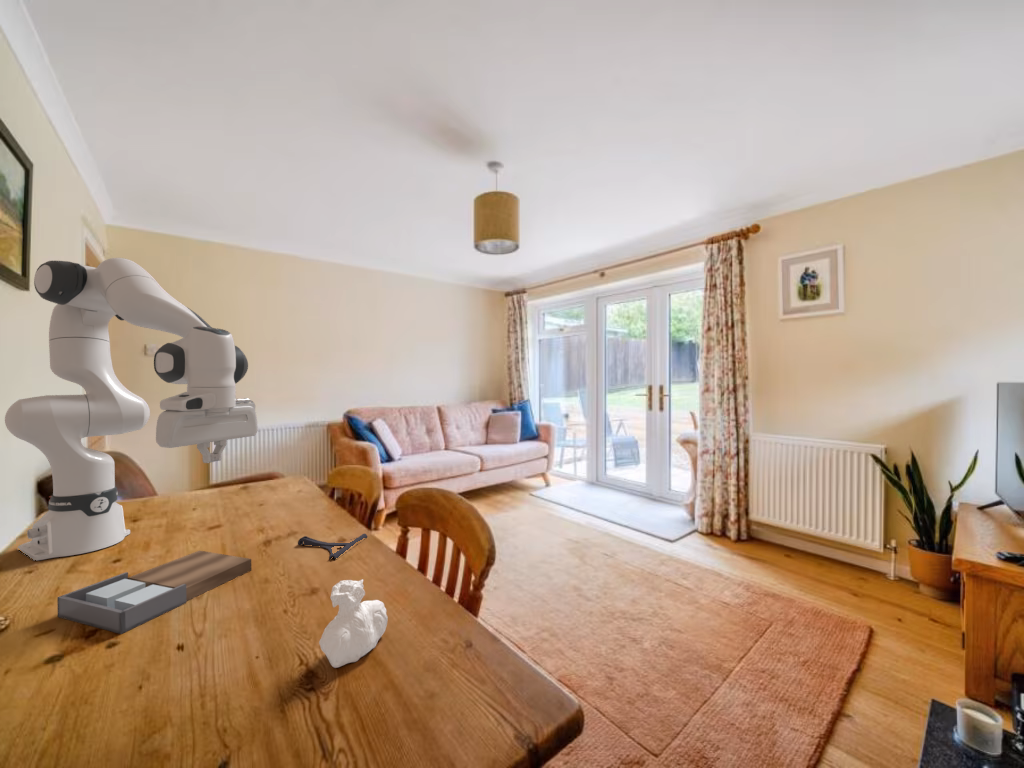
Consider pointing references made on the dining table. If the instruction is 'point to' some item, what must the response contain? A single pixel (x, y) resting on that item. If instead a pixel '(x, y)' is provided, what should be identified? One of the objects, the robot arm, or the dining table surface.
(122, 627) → the tray
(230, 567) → the board
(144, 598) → the tile
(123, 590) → the tile
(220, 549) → the dining table surface
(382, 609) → the bust
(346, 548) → the bracket
